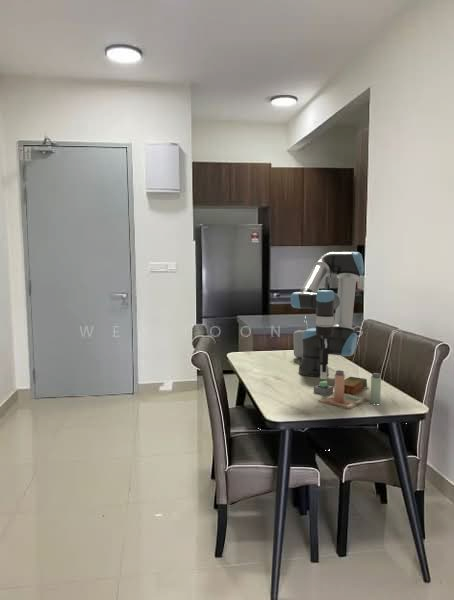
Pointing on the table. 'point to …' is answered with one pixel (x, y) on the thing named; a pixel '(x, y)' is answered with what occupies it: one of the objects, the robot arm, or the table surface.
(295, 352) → the jar
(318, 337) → the robot arm
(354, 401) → the colouring board
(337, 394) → the terracotta marker
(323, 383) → the button
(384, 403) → the table surface
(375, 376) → the sage marker
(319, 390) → the button housing
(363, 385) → the carton
